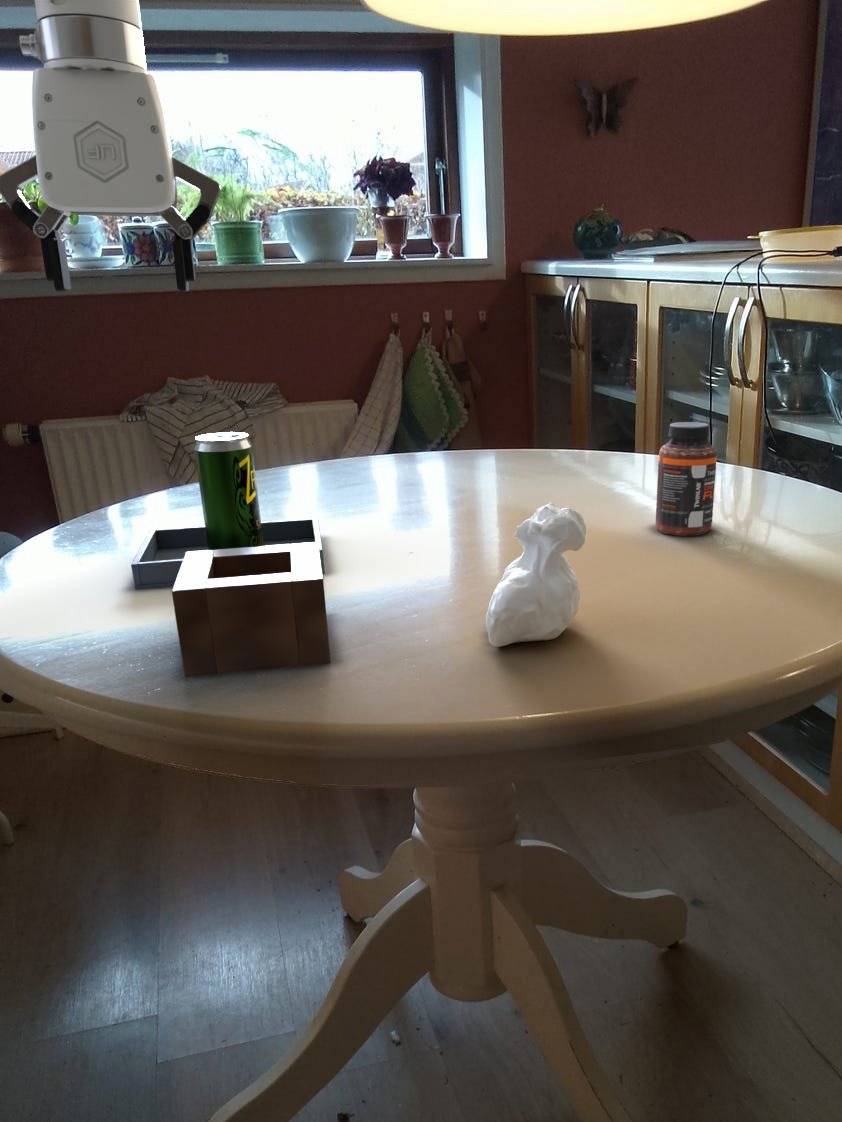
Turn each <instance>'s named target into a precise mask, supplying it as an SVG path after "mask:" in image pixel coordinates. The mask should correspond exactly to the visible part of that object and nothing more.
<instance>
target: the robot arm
mask: <svg viewBox="0 0 842 1122" xmlns="http://www.w3.org/2000/svg"><path fill="white" fill-rule="evenodd" d="M34 5H35V6H34V7H35V12H36V20H37V22H35V29H33V31H34V32H33V33H29V34H28V35H19V46H20V50H21V53H22V56H23V57H33V58H34V59H38V61H40V62H41V63H42V65H43V68H41V67H40V68H39V67H38V68H35V69H33V72H32V84H31V85H32V88H31V89H32V90H31V92H32V93H31V94H32V95H31V99H32V123H33V125H32V126H33V139H34V149H35V154H34V155H33V156H31V157H29V158H28V159H25V160H24V161H22V162H20V163H19V164H17V165H14V166H13V167H11V168H9V169H7V170H6V171H4V172H2V173H1V174H0V196H1V197H2V199H3V200H4V201H5V203H6V205H8V207H9V208H10V210H11V213H12V214H13V216H15V217H16V218H17V220H19V221H21V222H22V224H24V225H25V226H26V227H27V228H28V229H29V230H30V231H32V232H33V233H34V235H35V236H36V237H38V238H39V241H40V248H41V252H42V260H43V267H44V273H45V277H46V280H47V281H48V282H53V285H54V286H53V287H54V290H55V292H70V291H71V290H72V283H71V276H70V270H69V263H68V256H67V249H66V248H67V247H66V243H65V241H63V239H61V237H60V231H61V230H62V228H63V227H64V225H65V224H66V222H67V221H68V219H69V218H70V217H71V215H74V216H88V217H89V216H91V217H94V216H95V217H96V216H97V217H99V216H100V217H162V219H163V220H164V221H165V222H166V223H167V225H169V226H170V228H171V229H172V230H173V231H174V240H172V241H171V243H172V252H173V253H172V254H173V261H174V271H175V277H176V278H175V280H176V289H177V290H178V291H180V292H190V286H189V285H190V283H189V282H196V280H197V279H196V270H195V269H196V268H195V258H194V248H193V240H194V239H195V237H196V236H197V235H198V234H199V233H200V232H201V230H202V229H203V228H204V227H205V226H206V224H207V223H208V222H209V221H210V220H211V218H212V215H213V212H214V210H215V207H216V206H217V202H218V200H219V197H220V195H221V192H222V187H221V185H220V183H219V182H217V181H216V180H215V179H213V178H211V177H209V176H208V175H206V174H204V173H203V172H201V171H198V170H197V169H195V168H193V167H192V166H189V165H188V164H187V163H186V164H185V163H184V162H182V161H180V160H179V159H176V158H175V157H173V151H172V144H171V139H170V134H169V128H168V123H167V118H166V113H165V108H164V104H163V100H162V95H161V92H160V88H159V84H158V82H157V78H156V77H155V76H154V75H152V74H150V73H147V63H146V55H145V46H144V37H143V35H144V34H143V29H142V20H141V11H140V10H141V9H140V1H139V0H34ZM37 179H38V185H39V190H40V195H41V198H42V200H43V203H45V204H46V206H45V208H44V209H43V211H42V212H41V213H40V214H39V213H38V212H37V211H36V210H35V209H34V208H33V207H31V206H30V205H29V203H28V202H27V201H26V199H25V197H24V196H23V194H22V188H23V187H25V186H26V185H28V184H30V183H32V182H33V181H35V180H37ZM177 180H179V181H181V182H183V183H184V184H187V185H189V186H190V187H192V188H194V189H196V190H198V192H200V197H199V199H198V203H197V205H196V207H195V208H194V209H193V210H192V212H190V214H189V215H188V216H187V217H186V218H184V217H183V216H182V215H181V213H180V212H179V211H178V210H177V207H178V187H177Z"/></svg>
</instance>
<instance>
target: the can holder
mask: <svg viewBox="0 0 842 1122" xmlns="http://www.w3.org/2000/svg"><path fill="white" fill-rule="evenodd" d="M324 582H325V581H324V574H322V567H321V559H320V552H319V545H318V542H312V543H299V544H285V545H272V546H258V547H245V548H232V549H218V550H205V551H192V552H186V554H185V556H184V559H183V562H182V565H181V567H180V570H179V573H178V576H177V578H176V581H175V584H174V586H172V589H171V597H172V602H173V603H172V604H173V610H174V616H175V623H176V630H177V637H178V642H179V643H178V644H179V648H180V655H181V663H182V669H183V674H184V675H183V676H184V677H185V678H187V677H199V676H208V675H209V676H210V675H219V674H228V673H241V672H250V671H260V670H261V671H262V670H269V669H271V670H272V669H280V668H290V667H291V668H292V667H299V666H300V667H301V666H312V665H320V664H321V665H322V664H330V663H331V661H332V660H331V650H330V639H329V637H330V636H329V626H328V615H327V605H326V595H325V583H324Z"/></svg>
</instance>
